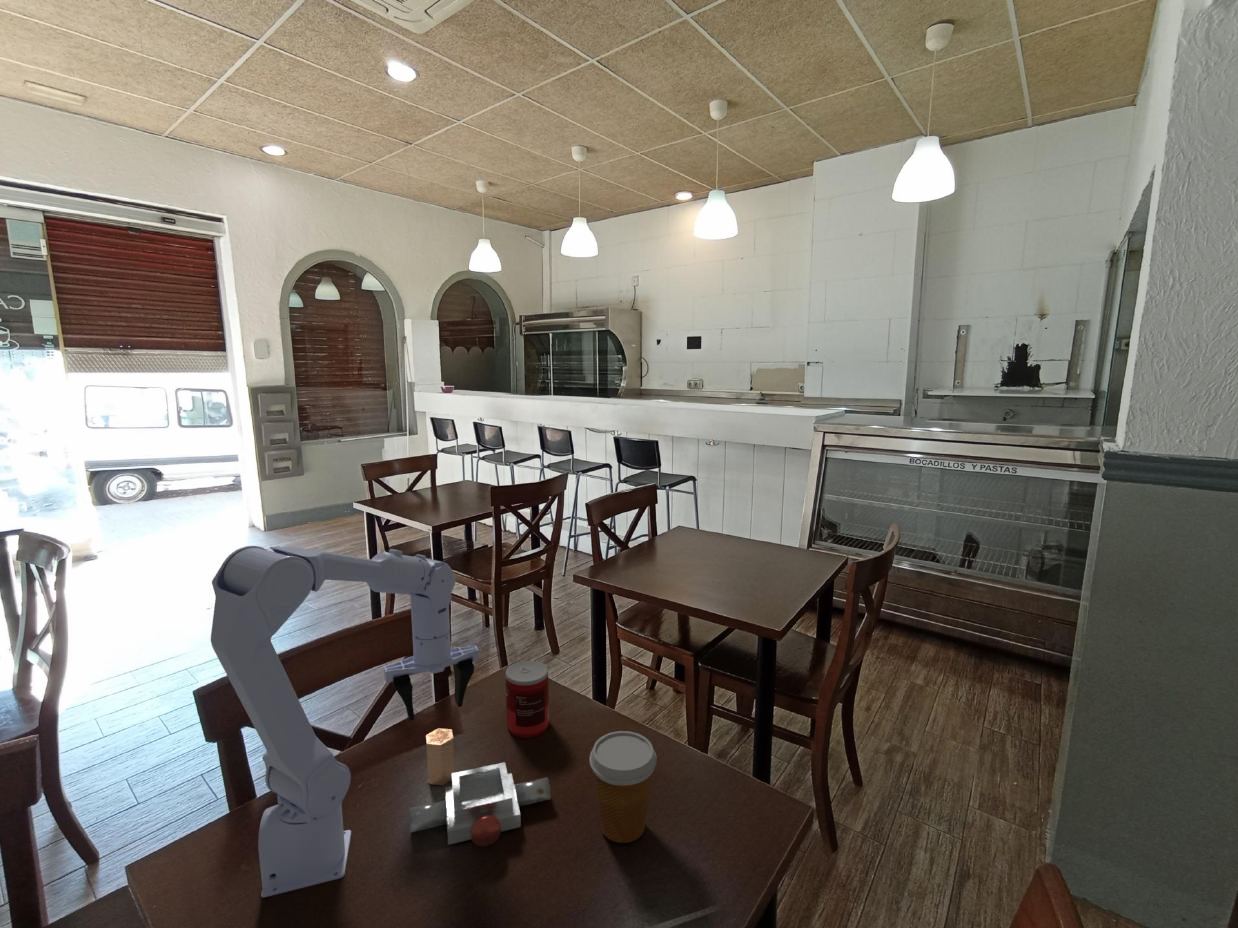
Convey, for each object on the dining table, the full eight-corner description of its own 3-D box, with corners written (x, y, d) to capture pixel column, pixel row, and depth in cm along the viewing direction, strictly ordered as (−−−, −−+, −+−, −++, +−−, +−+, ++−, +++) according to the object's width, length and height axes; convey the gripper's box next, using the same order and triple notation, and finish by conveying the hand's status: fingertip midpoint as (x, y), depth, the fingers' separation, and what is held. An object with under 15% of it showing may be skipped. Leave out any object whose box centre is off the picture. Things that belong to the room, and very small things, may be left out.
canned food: (527, 708, 110) (526, 656, 108) (558, 723, 105) (557, 668, 104) (497, 728, 104) (495, 672, 102) (528, 744, 99) (527, 686, 98)
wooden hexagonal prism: (429, 788, 89) (427, 747, 88) (427, 769, 93) (425, 730, 92) (455, 781, 90) (453, 741, 89) (452, 763, 94) (451, 725, 93)
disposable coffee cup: (579, 841, 78) (578, 763, 77) (604, 794, 87) (604, 723, 85) (644, 861, 75) (645, 779, 73) (663, 810, 84) (664, 736, 82)
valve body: (409, 868, 74) (407, 838, 73) (411, 807, 85) (409, 779, 84) (558, 830, 80) (558, 801, 80) (543, 777, 91) (542, 751, 90)
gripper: (386, 653, 83) (391, 737, 85) (483, 631, 91) (486, 709, 93) (380, 634, 89) (385, 713, 91) (471, 615, 97) (474, 689, 99)
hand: (435, 710), depth 92 cm, fingers open, 7 cm apart
